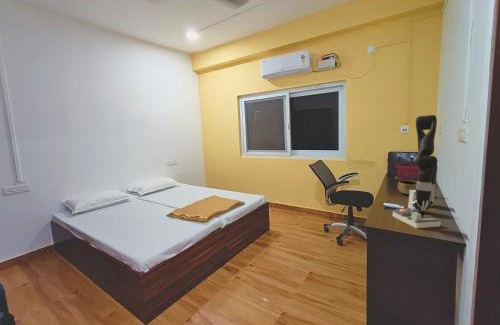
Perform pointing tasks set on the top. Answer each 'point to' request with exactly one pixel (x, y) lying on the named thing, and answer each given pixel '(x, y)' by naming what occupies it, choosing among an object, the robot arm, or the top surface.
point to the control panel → (423, 223)
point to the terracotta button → (403, 210)
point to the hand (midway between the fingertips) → (421, 216)
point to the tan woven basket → (406, 186)
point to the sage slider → (415, 216)
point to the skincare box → (412, 198)
